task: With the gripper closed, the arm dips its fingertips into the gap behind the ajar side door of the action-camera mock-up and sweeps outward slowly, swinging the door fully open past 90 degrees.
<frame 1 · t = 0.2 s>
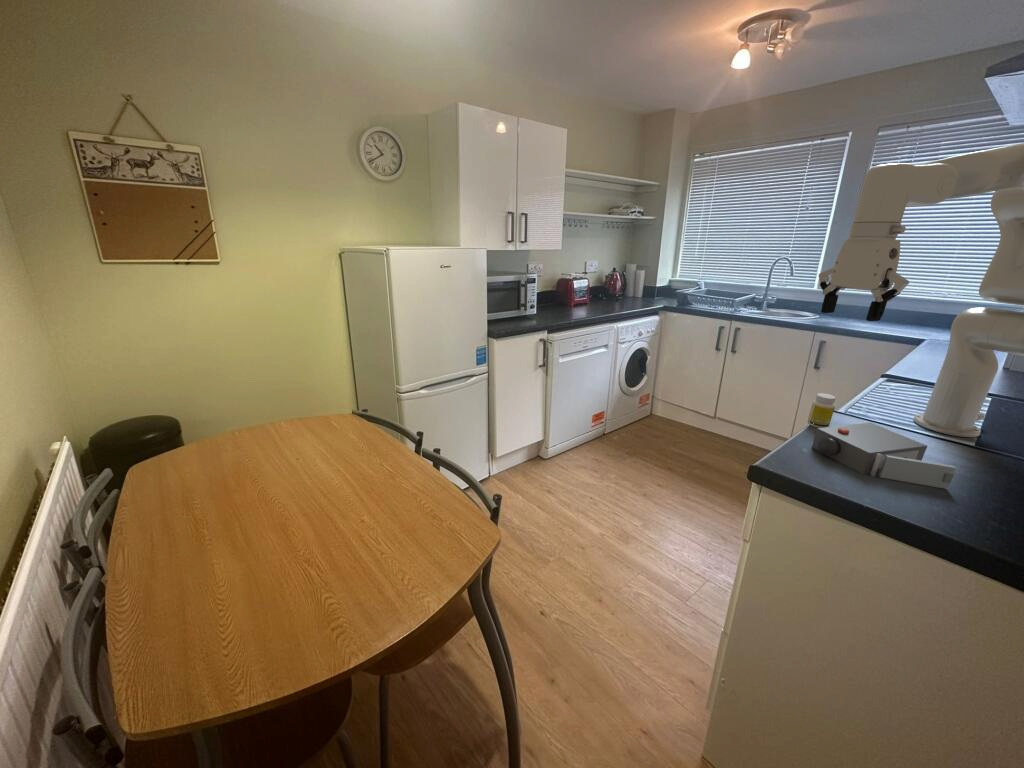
hand: (848, 316, 90), 31 cm above the kitchen counter, fingers open, 9 cm apart
supplement bottle: (817, 425, 111), on the kitchen counter
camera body: (863, 456, 95), on the kitchen counter
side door: (916, 472, 84), point 3 cm above the kitchen counter, hinge at 35.0°
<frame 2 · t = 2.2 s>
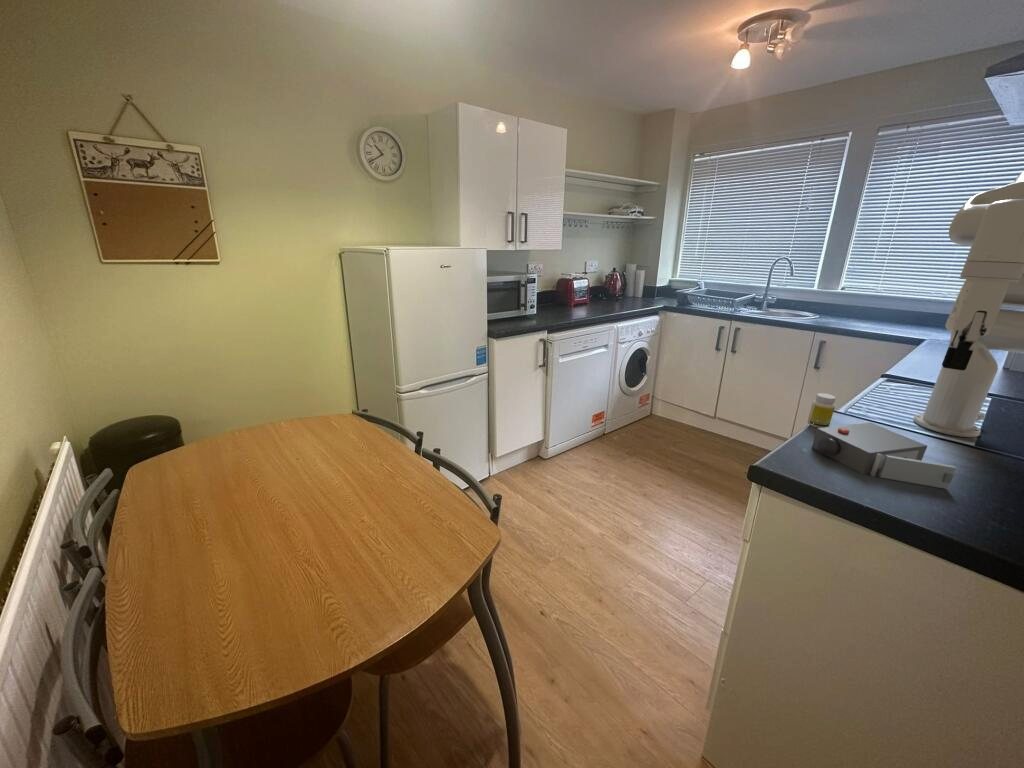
hand: (953, 368, 82), 23 cm above the kitchen counter, fingers closed
nothing on the kitchen counter moved.
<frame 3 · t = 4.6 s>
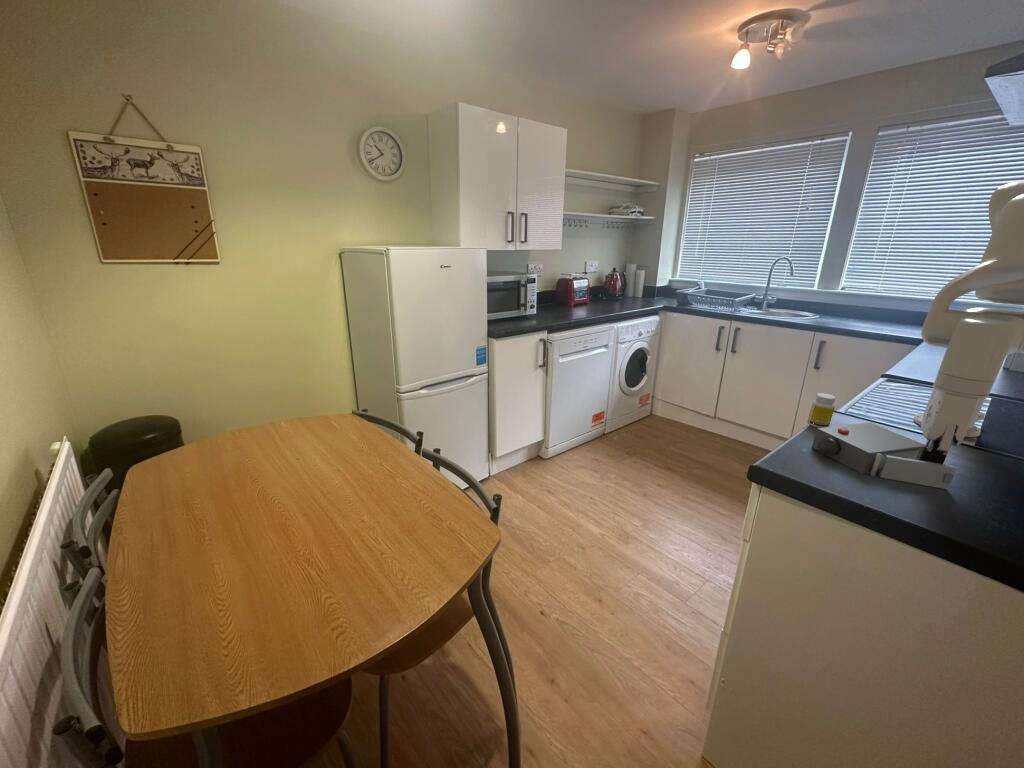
hand: (928, 468, 85), 3 cm above the kitchen counter, fingers closed
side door: (916, 472, 84), point 3 cm above the kitchen counter, hinge at 35.4°, touching gripper
everything else where it was.
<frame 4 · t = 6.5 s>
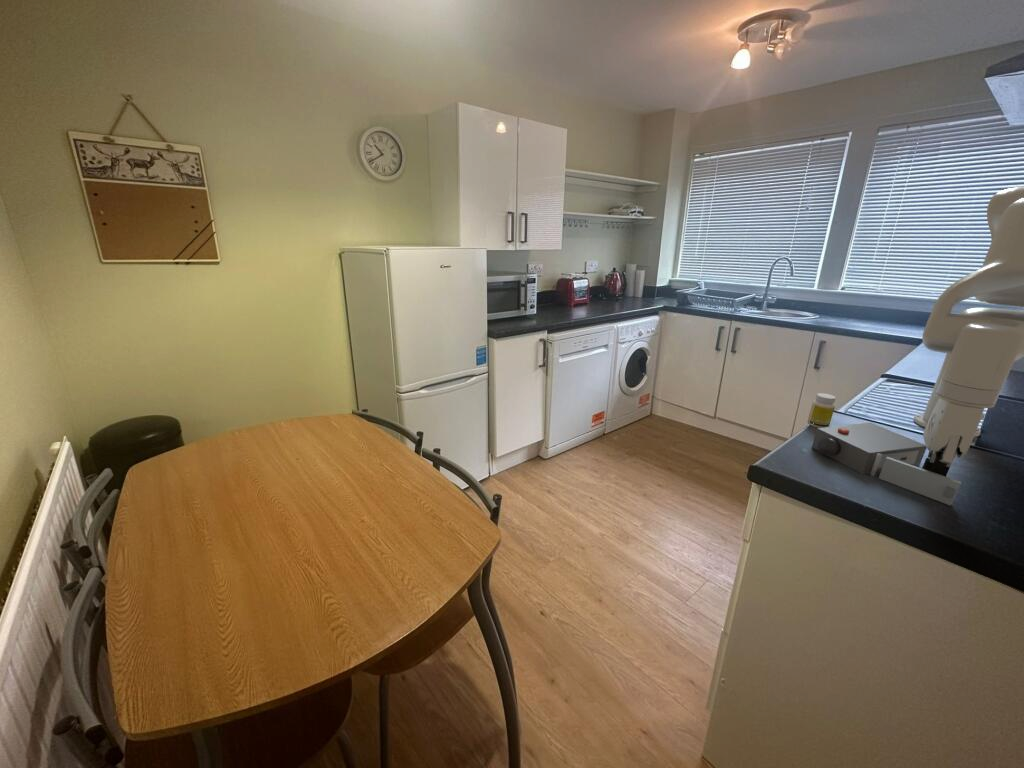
hand: (930, 479, 81), 3 cm above the kitchen counter, fingers closed
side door: (916, 480, 81), point 3 cm above the kitchen counter, hinge at 70.8°, touching gripper
everything else where it was.
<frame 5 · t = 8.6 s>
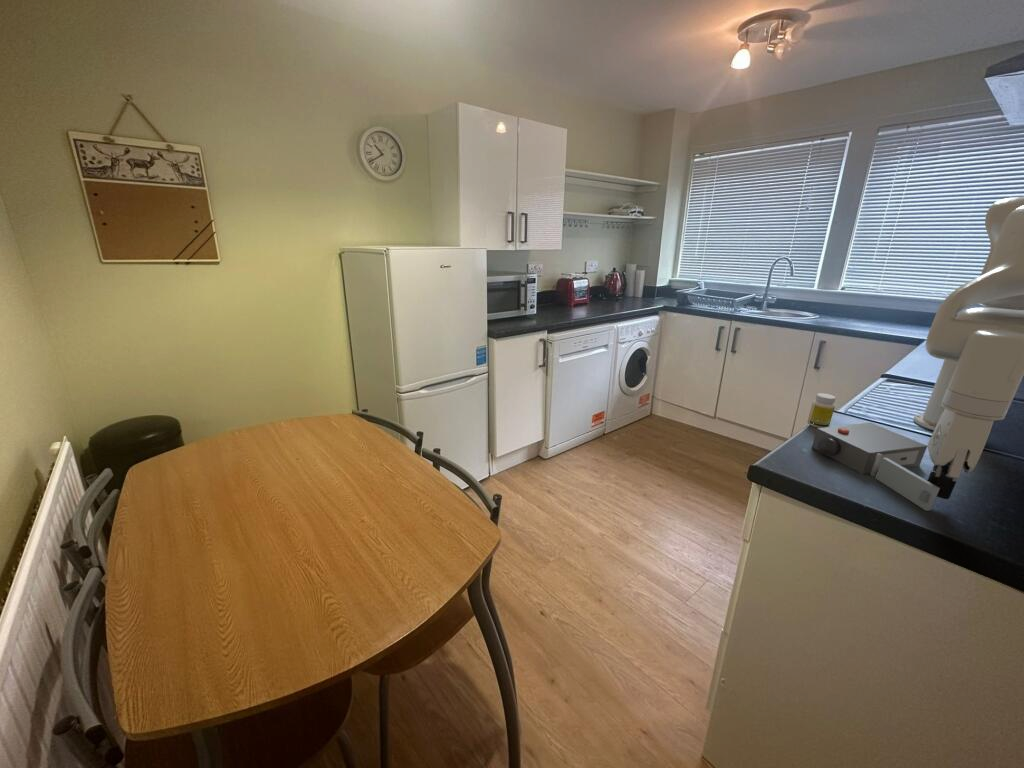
hand: (935, 494, 77), 2 cm above the kitchen counter, fingers closed
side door: (903, 482, 80), point 3 cm above the kitchen counter, hinge at 101.6°, touching gripper
everything else where it was.
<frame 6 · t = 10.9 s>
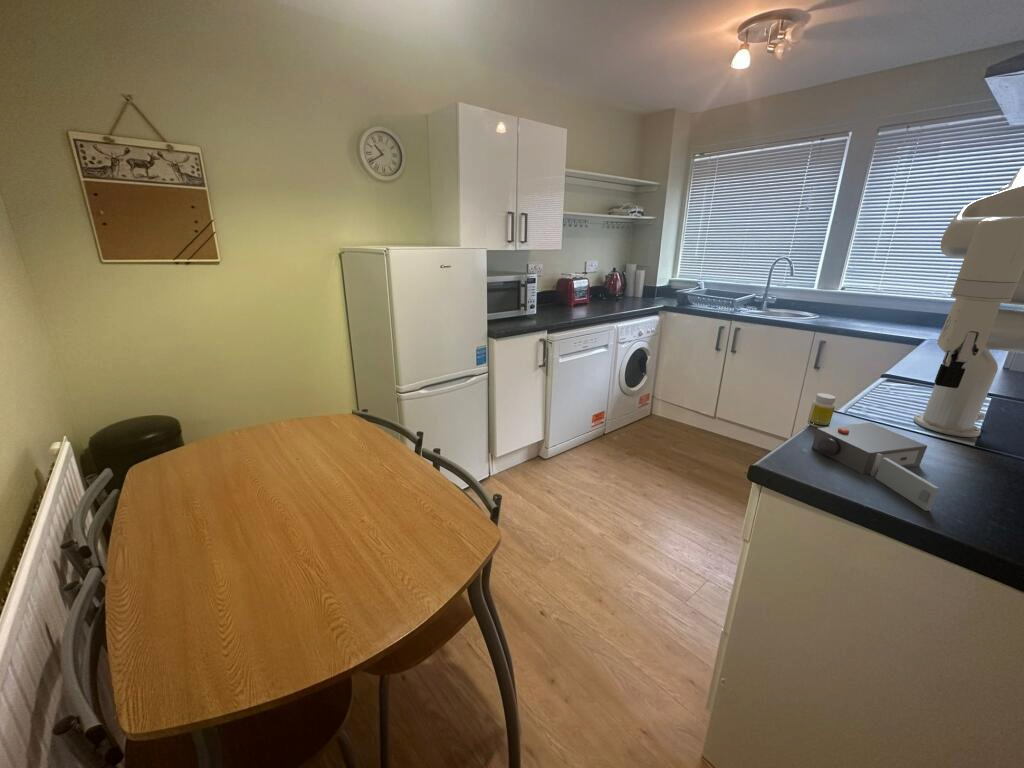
hand: (945, 385, 81), 20 cm above the kitchen counter, fingers closed
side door: (903, 482, 80), point 3 cm above the kitchen counter, hinge at 102.0°
everything else where it was.
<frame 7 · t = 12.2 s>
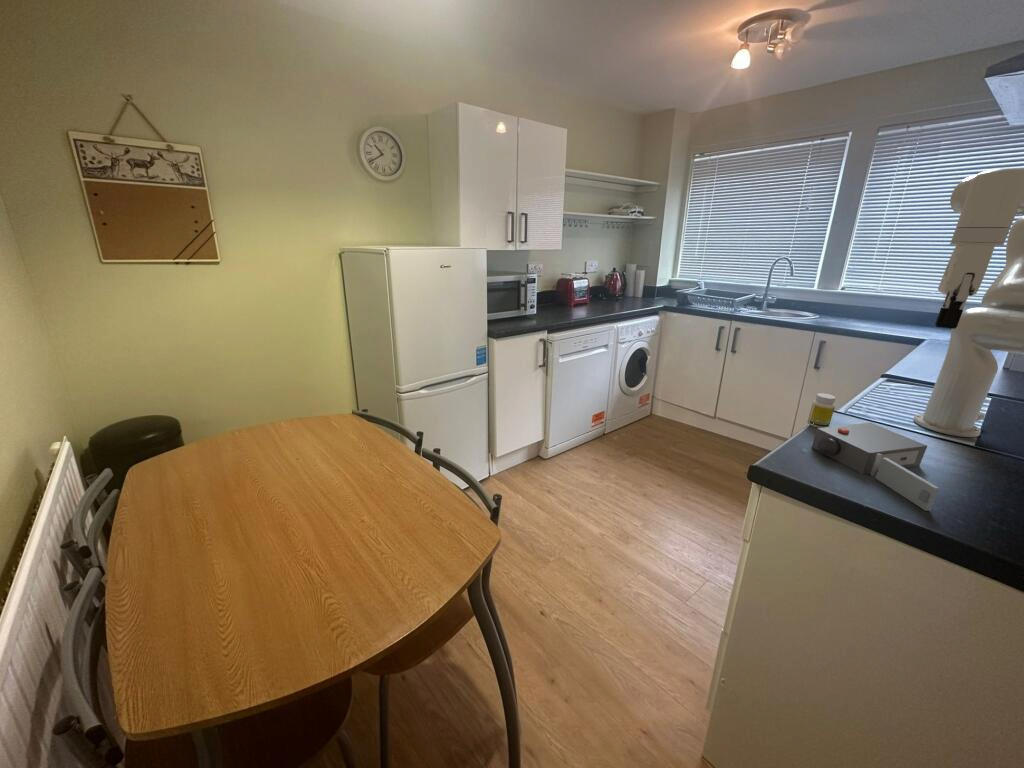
hand: (945, 327, 90), 29 cm above the kitchen counter, fingers closed
nothing on the kitchen counter moved.
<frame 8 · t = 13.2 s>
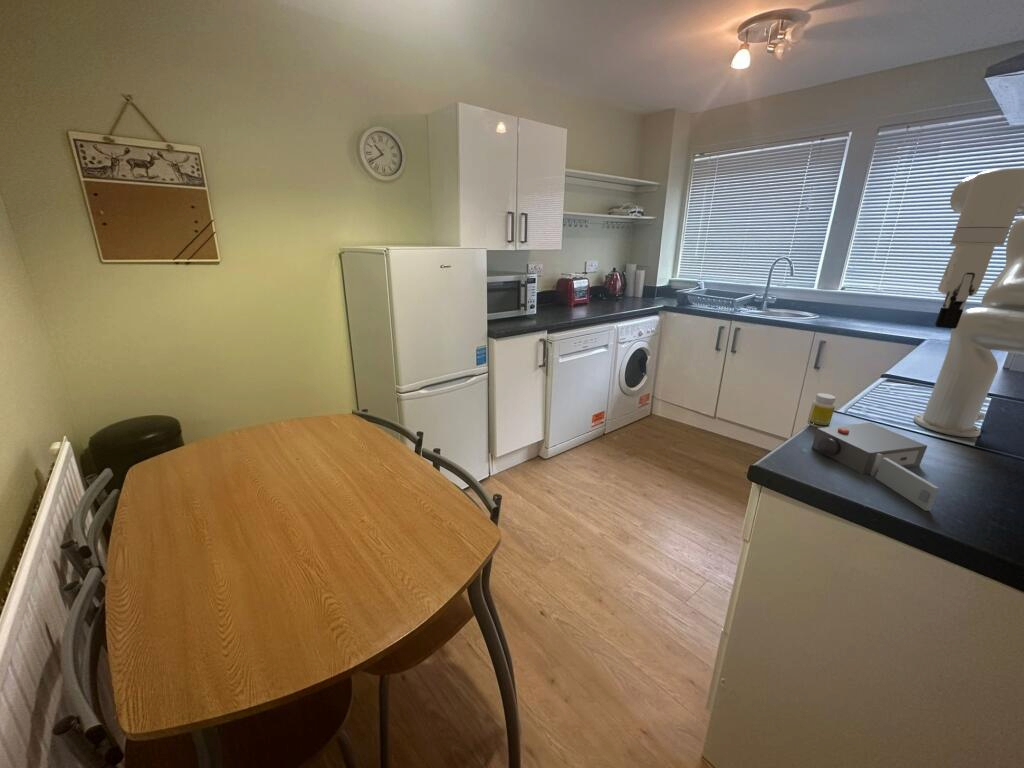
hand: (945, 327, 90), 29 cm above the kitchen counter, fingers closed
nothing on the kitchen counter moved.
at the end: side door at +102° (first picture: +35°); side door touching nothing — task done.
